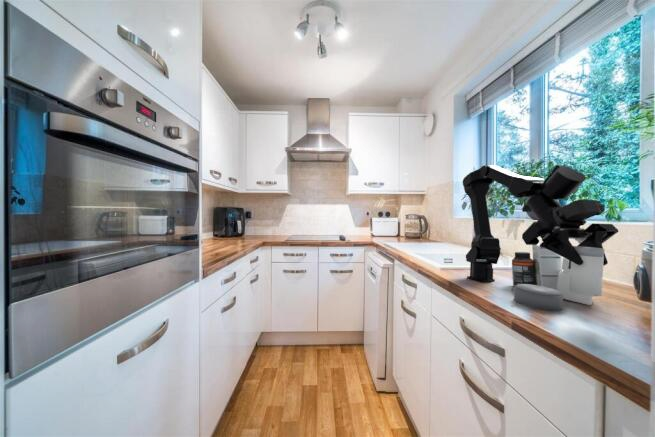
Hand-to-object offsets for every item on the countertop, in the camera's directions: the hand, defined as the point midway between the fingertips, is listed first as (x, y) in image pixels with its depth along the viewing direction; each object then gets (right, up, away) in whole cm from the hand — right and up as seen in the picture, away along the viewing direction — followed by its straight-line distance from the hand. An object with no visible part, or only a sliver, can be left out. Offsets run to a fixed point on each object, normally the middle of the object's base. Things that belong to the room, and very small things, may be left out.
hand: (593, 264), depth 55 cm
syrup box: (+12, -13, +25) cm, 31 cm away
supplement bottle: (+7, -13, +29) cm, 32 cm away
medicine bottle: (+13, -13, +18) cm, 26 cm away
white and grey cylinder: (0, -7, +2) cm, 7 cm away
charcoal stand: (-1, -13, +14) cm, 19 cm away
